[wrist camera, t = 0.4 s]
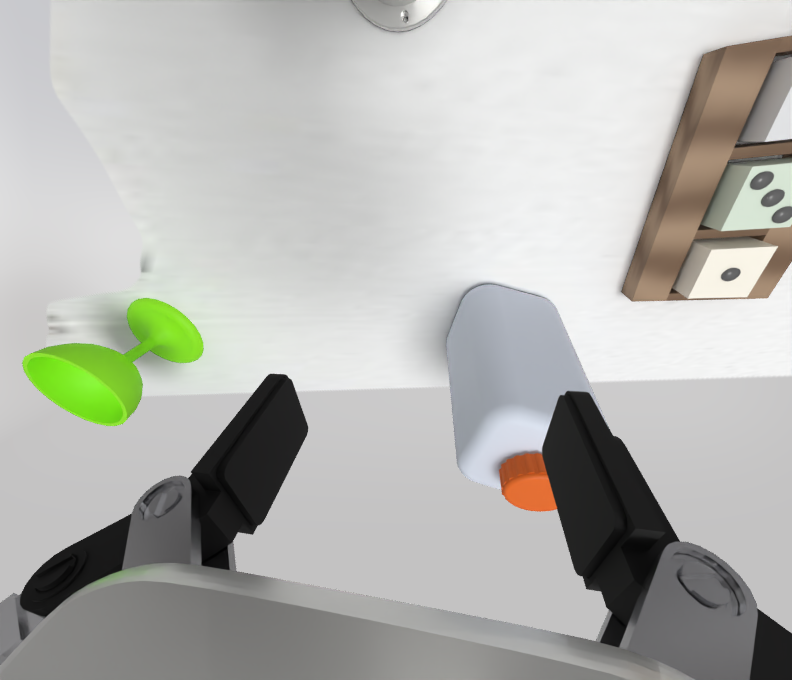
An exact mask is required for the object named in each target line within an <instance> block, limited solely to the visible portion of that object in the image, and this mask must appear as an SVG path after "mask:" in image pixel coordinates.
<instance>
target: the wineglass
mask: <svg viewBox="0 0 792 680" xmlns="http://www.w3.org/2000/svg"><path fill="white" fill-rule="evenodd" d="M127 320H128V324H129V327H130V329H131V330H132V332H133V334H134V335H135V336H136V338H137V339H138V340H139V341H140V342H141V344H139V345H138V346H136V347H135V348H133V349H131V350H130V351H128V352H127V353H125V354H124V355H122V354H121V353H119V352H117V351H115V350H112V349H109V348H106V347H102V346H99V345H94V344H80V343H72V344H63V345H57V346H51V347H47V348H44V349H41V350H39V351H36V352H34V353H31V354H29V355H27V356H25V357H24V360H23V363H22V364H23V368H24V371H25V373H26V375H27V377H28V378H29V380H30V381H31V382H32V383H33V384H34V386H35V387H36V388H37V389H38V390H39V391H40V392H42V393H43V394H44V395H45V396H46V397H47V398H48V399H50V400H51V401H53V402H54V403H55V404H57V405H58V406H60V407H61V408H63V409H65V410H67V411H68V412H70V413H72V414H74V415H76V416H78V417H80V418H82V419H84V420H87V421H90V422H93V423H97V424H101V425H106V426H117V425H121V424H123V423H124V422H125V421H126V420H127V419H128V418H129V417H130V415H131V414H132V413H133V412H134V411H135V410H136V408H137V406H138V404H139V402H140V400H141V396H142V387H143V383H142V379H141V376H140V374H139V371H138V369H137V368H136V366H135V365H134V364H133V363H132V362H133V361H135V360H136V359H138V358H139V357H141V356H142V355H144V354H145V353H146V352H148V351H149V350H150V351H151V352H153V353H154V354H156V355H158V356H160V357H162V358H164V359H167V360H169V361H172V362H178V363H190V362H192V361H195V360H197V359H198V358H199V357H200V356H201V355H202V353H203V341H202V338H201V336H200V334H199V332H198V330H197V329H196V327H195V326H194V325H193V324H192V322H191V321H190V320H189V319H188V318H187V317H186V316H185V315H183V314H182V313H181V312H180V311H178V310H177V309H175V308H174V307H172V306H170V305H168V304H167V303H164V302H161V301H159V300H155V299H149V298H143V299H138V300H136V301H134V302H132V303H131V305H130V307H129V308H128V311H127Z"/></svg>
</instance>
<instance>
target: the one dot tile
mask: <svg viewBox="0 0 792 680" xmlns="http://www.w3.org/2000/svg"><path fill="white" fill-rule="evenodd" d="M777 248H778V246H775V245H772V244H769V243H766V242H763V241H760V240H757V239H754V238H751V237H748V236H745V237H728V238H710V239H693V241H692V243H691V246H690V248H689V250H688V252H687V255H686V257H685V259H684V261H683V264H682V266H681V268H680V270H679V273H678V275H677V277H676V279H675V282H674V284H673V286H672V288H673V289H674V290H676V291H677V292H679V293H680V294H682V295H683V296H685V297H686V298H688V299H693V298H733V297H748V295H749V293H750V292H751V290H752V288H753V287H754V285H755V284H756V282H757V280H758V279H759V277H760V275H761V274H762V272H763V270H764V269H765V267H766V266H767V264H768V262H769V261H770V259H771V257H772V256H773V254H774V252H775V251H776V249H777Z"/></svg>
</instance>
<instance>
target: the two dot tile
mask: <svg viewBox="0 0 792 680" xmlns="http://www.w3.org/2000/svg"><path fill="white" fill-rule="evenodd" d="M786 139H792V57H789V58H785V59H781V60H777V61H773V62H772V64H771V66H770V68H769V71H768V73H767V75H766V77H765V80H764V82H763V84H762V86H761V88H760V91H759V93H758V95H757V97H756V100H755V102H754V104H753V106H752V109H751V111H750V113H749V115H748V118H747V120H746V122H745V124H744V127H743V129H742V131H741V133H740V136H739V138H738V140H737V142H767V141H777V140H786Z"/></svg>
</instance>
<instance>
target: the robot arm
mask: <svg viewBox="0 0 792 680" xmlns="http://www.w3.org/2000/svg"><path fill="white" fill-rule="evenodd" d="M352 1H353V3H354V4H355V6H356V7H357V8H358V10H359V11H360V12H361V13H362V14H363V15H364V16H365V18H367V19H368V20H369V21H371V22H372V23H373V24H375V25H376V26H378V27H380V28H383V29H385V30H388V31H396V32H400V31H408V30H411V29H414V28H416V27H418V26H421V25H422V24H424V23H425V22H426V21H428V20H429V19H431V18H432V17H433V16H434V15H435V14H436V13H437V11H438V10H439V9H440V8H441V7H442V6H443V4H444V3H445V1H446V0H352ZM406 16H407V17H408V21H407V22H406V23H405V22H404V21H403V20H404V17H406ZM307 432H308V425H307V422H306V419H305V416H304V414H303V411H302V408H301V405H300V403H299V399H298V397H297V394H296V391H295V388H294V385H293V382H292V380H291V379H289V378H288V376H287V375H284V374H269V375H268V376H267V377H266V378H265V379H264V381H263V382H262V383H261V385H260V386H259V387H258V388H257V390H256V391H255V392H254V393H253V395H252V396H251V397H250V398H249V400H248V401H247V402H246V403H245V405H244V406H243V407H242V408H241V410H240V411H239V412H238V413H237V415H236V416H235V417H234V418H233V420H232V421H231V422H230V423H229V425H228V426H227V427H226V429H225V430H224V431H223V432H222V433H221V435H220V436H219V437H218V438H217V440H216V441H215V442H214V444H213V445H212V446H211V447H210V449H209V450H208V451H207V452H206V453H205V455H204V456H203V457H202V458H201V460H200V461H199V462H198V464H197V465H196V466H195V467H194V468H193V470H192V471H191V473H192V474H191V476H190V477H189V478H186V477H184V476H173V477H170V478H167V479H164V480H162V481H160V482H159V483H157V484H155V485H154V486H153V487H151V488H150V489H149V490H148V491H146V492H145V493H144V494H143V496H142V497H141V498H140V499H139V500H138V502H137V504H136V505H135V506H134V509H133V512H132V514H130V515H128V516H126V517H125V518H123V519H121V520H119V521H117V522H115V523H113V524H112V525H109V526H107V527H106V528H104V529H102V530H100V531H98V532H96V533H94V534H92V535H90V536H89V537H86V538H85V539H83V540H81V541H79V542H77V543H75V544H73V545H71V546H69V547H68V548H65V549H64V550H62V551H61V552H59V553H57V554H56V555H54V556H53V557H52V558H51V559H50V560H48V561H47V562H46V563H44V564H43V565H42V566H41V567H40V568H39V569H38V570H37V571H36V572H35V573H34V574H33V576H32V577H31V579H30V580H29V581H28V582H27V584H26V585H25V587H24V589H23V591H22V593H21V594H20V595H17V594H15V593H13V594H12V595H10V596H9V597H8V598H6V599H5V600H4V601H2V602H1V603H0V680H792V633H790V632H789V631H787V630H786V629H785V628H783V627H782V626H781V625H779V624H778V623H777V622H775V621H774V620H772V619H771V618H770V617H768V616H767V615H766V614H764V613H763V612H761V611H760V610H759V609H757V604H756V601H755V599H754V597H753V595H752V593H751V591H750V589H749V588H748V586H747V585H746V583H745V582H744V581H743V579H742V578H741V577H740V576H739V575H738V574H737V573H736V572H735V571H734V570H733V569H732V568H731V567H730V566H729V565H728V564H727V563H726V562H725V561H723V560H722V559H720V558H719V557H718V556H716V555H715V554H714V553H712V552H710V551H708V550H706V549H704V548H702V547H701V546H698V545H695V544H692V543H688V542H680V541H679V539H678V537H677V535H676V534H675V532H674V530H673V529H672V527H671V525H670V523H669V522H668V520H667V518H666V516H665V514H664V513H663V511H662V509H661V507H660V506H659V504H658V502H657V500H656V499H655V497H654V495H653V493H652V492H651V490H650V488H649V486H648V485H647V483H646V481H645V479H644V478H643V476H642V474H641V472H640V471H639V469H638V467H637V465H636V464H635V462H634V460H633V458H632V457H631V455H630V453H629V451H628V450H627V448H626V446H625V444H624V443H623V442H622V440H621V439H619V438H618V437H616V436H613V435H612V433H611V431H610V429H609V427H608V426H607V424H606V422H605V420H604V418H603V417H602V415H601V413H600V411H599V409H598V407H597V406H596V404H595V402H594V400H593V398H592V396H591V395H590V393H588V392H581V391H567V392H566V393H565V395H560V396H559V398H558V401H557V404H556V407H555V410H554V413H553V416H552V419H551V422H550V425H549V428H548V431H547V434H546V437H545V440H544V443H543V446H542V457H543V461H544V464H545V468H546V471H547V475H548V478H549V482H550V485H551V489H552V492H553V496H554V499H555V503H556V506H557V510H558V513H559V516H560V520H561V524H562V527H563V531H564V534H565V538H566V541H567V545H568V548H569V552H570V555H571V559H572V562H573V566H574V569H575V571H576V573H577V574H578V575H579V576H583V579H584V582H585V586H586V589H589V590H595V591H601V592H602V595H603V598H604V601H605V604H606V607H607V608H608V609H609V611H608V613H607V616H606V618H605V621H604V623H603V625H602V627H601V630H600V632H599V634H598V637H597V639H596V641H592V640H588V639H583V638H578V637H574V636H569V635H564V634H559V633H555V632H551V631H546V630H541V629H536V628H532V627H527V626H522V625H517V624H512V623H507V622H502V621H496V620H491V619H487V618H481V617H476V616H471V615H466V614H460V613H456V612H450V611H445V610H440V609H435V608H430V607H425V606H420V605H414V604H409V603H404V602H398V601H393V600H388V599H382V598H377V597H372V596H367V595H362V594H356V593H351V592H346V591H340V590H335V589H329V588H324V587H319V586H313V585H308V584H302V583H297V582H292V581H286V580H281V579H276V578H270V577H265V576H259V575H254V574H248V573H242V572H237V571H236V564H235V554H234V544H233V540H234V538H235V536H236V534H237V533H238V532H240V533H247V534H253V533H254V531H255V529H256V528H257V526H258V525H260V524H262V522H263V521H264V519H265V518H266V516H267V514H268V511H269V509H270V508H271V505H272V504H273V501H274V500H275V498H276V496H277V494H278V492H279V490H280V487H281V486H282V483H283V481H284V480H285V478H286V476H287V474H288V472H289V470H290V468H291V466H292V464H293V461H294V460H295V458H296V455H297V454H298V452H299V450H300V448H301V446H302V444H303V442H304V440H305V438H306V436H307Z"/></svg>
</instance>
